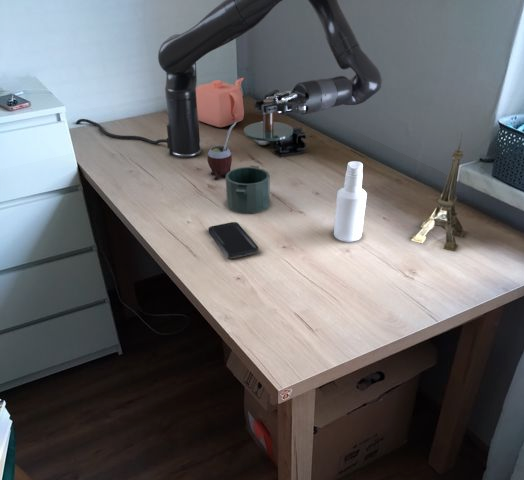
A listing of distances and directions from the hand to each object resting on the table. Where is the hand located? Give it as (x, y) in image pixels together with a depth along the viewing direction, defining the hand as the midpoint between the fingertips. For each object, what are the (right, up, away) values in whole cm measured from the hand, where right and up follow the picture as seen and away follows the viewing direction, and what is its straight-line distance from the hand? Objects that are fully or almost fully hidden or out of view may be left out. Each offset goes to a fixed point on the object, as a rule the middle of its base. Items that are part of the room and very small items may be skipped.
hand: (258, 107), depth 134 cm
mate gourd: (-11, -7, +29) cm, 32 cm away
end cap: (+9, +5, +44) cm, 45 cm away
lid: (+2, -4, +5) cm, 7 cm away
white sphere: (+1, +10, +49) cm, 50 cm away
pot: (-3, -20, +14) cm, 25 cm away
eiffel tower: (+44, -32, 0) cm, 54 cm away
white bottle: (+22, -31, +1) cm, 38 cm away
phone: (-6, -33, -1) cm, 34 cm away
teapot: (-13, +25, +67) cm, 73 cm away
